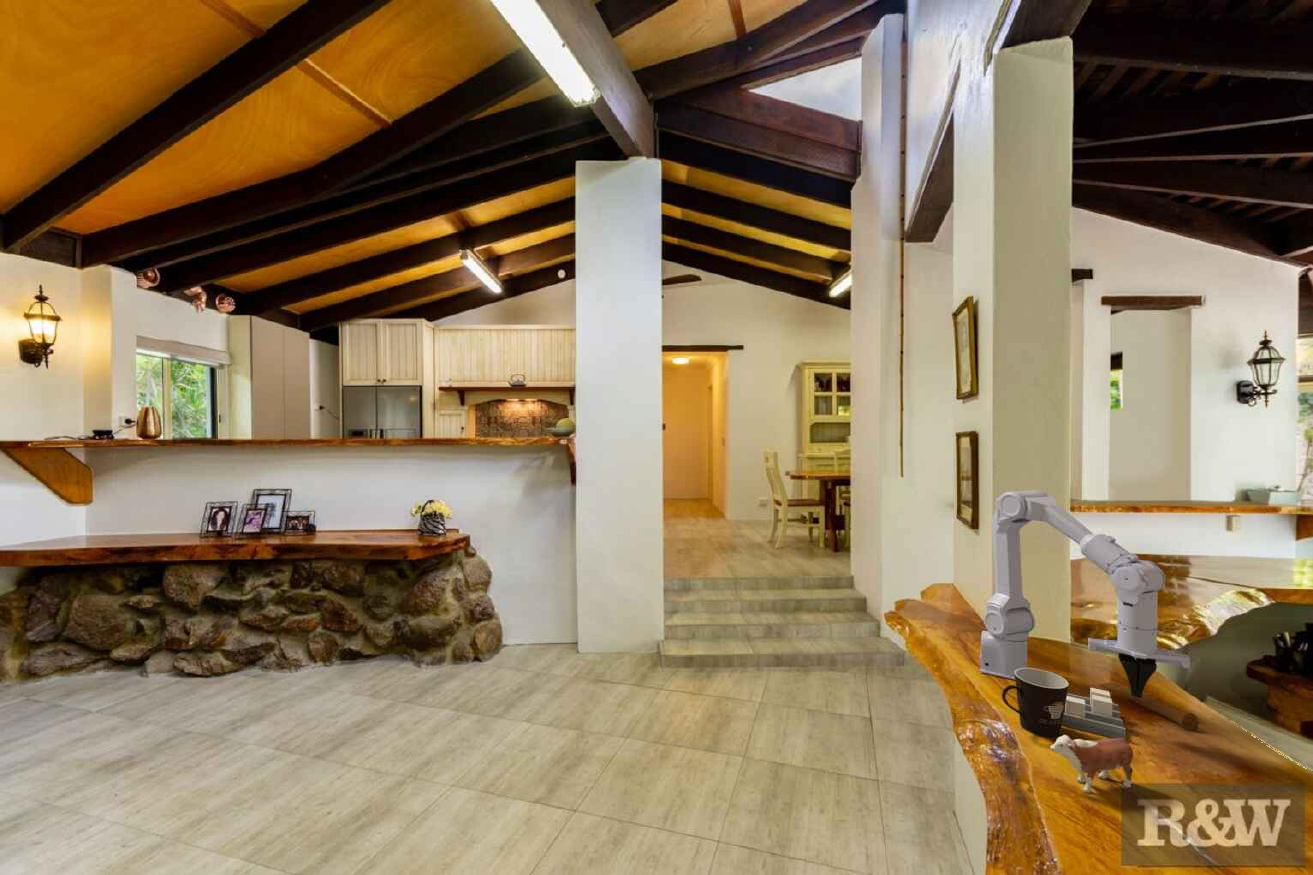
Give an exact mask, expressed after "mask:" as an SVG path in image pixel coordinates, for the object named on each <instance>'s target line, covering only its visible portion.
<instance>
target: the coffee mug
mask: <svg viewBox="0 0 1313 875" xmlns="http://www.w3.org/2000/svg"><path fill="white" fill-rule="evenodd" d="M1014 674H1015V680H1014V682H1015V685H1014V684H1010V685H1008V686H1006V687H1005V688H1004V689H1003V690H1002V693H1001V699H1002V701H1003V702H1004V704H1005V705H1006V706H1007V707H1008V708H1009V709H1011V710H1013V711H1014V712H1015V713H1017V714H1019V715H1018V716H1019V722H1020V726H1021V727H1022V728H1023V729H1024V730H1025V731H1027V732H1028V733H1030V734H1033V735H1036V736H1038V737H1042V738H1046V739H1047V738H1049V739H1055V738H1056V739H1057V738H1059V737H1061V733H1062V726H1063V725H1062V722H1063V716H1064V710H1065V704H1066V698H1067V693H1068V690H1069V682H1068V680H1067V679H1065V678H1064V677H1063V676H1061V675H1059V674H1056V673H1054V672H1051V671H1049V670H1048V671H1047V670H1044V669H1041V668H1040V669H1039V668H1033V667H1027V668H1019V669H1016V670H1015V671H1014ZM1012 689H1013V690H1015V691H1016V697H1017V706H1018V709H1017V708H1015V707H1014V706H1013V705H1011V704H1010V703H1009V702H1008V700H1007V698H1006V695H1007V694H1008V692H1010V690H1012Z"/></svg>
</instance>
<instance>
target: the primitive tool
mask: <svg viewBox="0 0 1313 875" xmlns="http://www.w3.org/2000/svg"><path fill="white" fill-rule="evenodd" d="M1097 686H1099V687H1101V688H1103V689H1104V690H1106V691H1109V692H1111V693H1114V694H1115V695H1118V696H1120V697H1122V698H1124V699H1126V700H1128V701H1131V702H1132V703H1133V702H1134V704H1137V705H1139V706H1140V707H1143V708H1145V709H1147V710H1149V711H1151V712H1153V713H1155V714H1158V715H1160V716H1162V717H1164V718H1166V719H1168V720H1170V721H1172V722H1174V723H1177V725H1179V726H1181V728H1182V729H1183V730H1185V731H1196V730H1197V729H1198V728H1199V724H1200V722H1199V719H1198V717H1197V715H1195V713H1192V712H1184V711H1183V710H1179V709H1176V708H1174V707H1172V706H1169V705H1167V704H1165V703H1163V702H1160V701H1159V700H1157V699H1154V698H1151V697H1149V696H1148V695H1147V696H1146V695H1144V694H1143V693H1142V698H1139V697H1134V696H1132V695H1131V692H1130V685H1125V684H1124V683H1121V682H1118V681H1117V682H1116V681H1115V682H1110V683H1097Z"/></svg>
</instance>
